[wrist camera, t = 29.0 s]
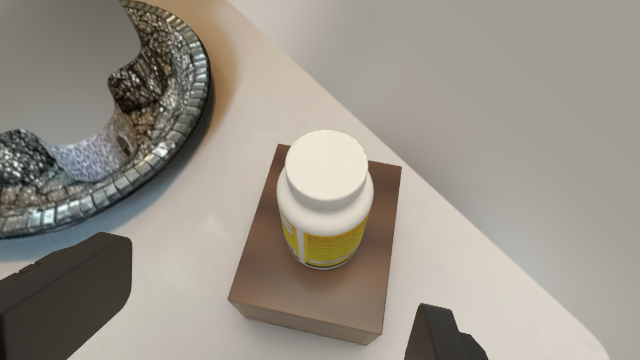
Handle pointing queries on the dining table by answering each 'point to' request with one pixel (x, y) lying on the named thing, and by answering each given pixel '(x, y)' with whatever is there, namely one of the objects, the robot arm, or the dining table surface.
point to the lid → (313, 284)
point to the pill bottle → (324, 198)
